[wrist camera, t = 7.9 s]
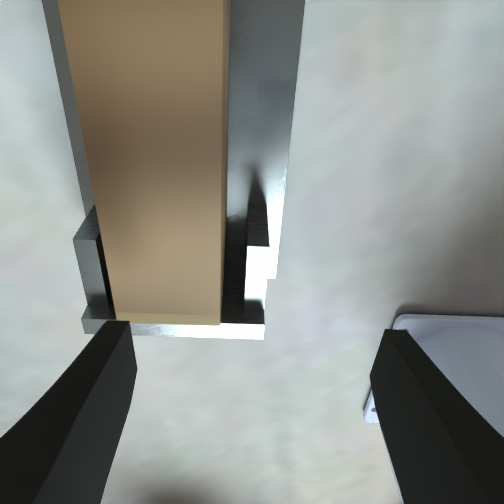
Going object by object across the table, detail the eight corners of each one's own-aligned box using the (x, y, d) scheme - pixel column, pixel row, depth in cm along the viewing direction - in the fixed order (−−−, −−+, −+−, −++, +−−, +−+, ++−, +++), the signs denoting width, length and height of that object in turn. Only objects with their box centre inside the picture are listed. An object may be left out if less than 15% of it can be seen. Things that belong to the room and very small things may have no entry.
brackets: (274, 265, 21) (280, 341, 17) (103, 259, 21) (67, 334, 17) (319, -174, 12) (356, -239, 8) (17, -196, 12) (-108, -275, 8)
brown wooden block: (226, 246, 19) (220, 325, 15) (145, 242, 19) (117, 322, 15) (232, -99, 12) (224, -125, 8) (105, -108, 12) (31, -139, 8)
